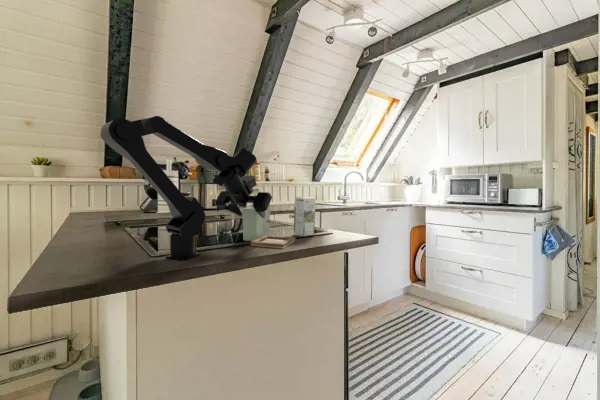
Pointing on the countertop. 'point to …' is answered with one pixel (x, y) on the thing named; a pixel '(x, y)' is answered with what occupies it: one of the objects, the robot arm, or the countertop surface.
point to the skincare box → (266, 221)
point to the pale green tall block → (252, 224)
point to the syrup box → (304, 216)
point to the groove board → (273, 241)
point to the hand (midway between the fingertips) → (252, 216)
